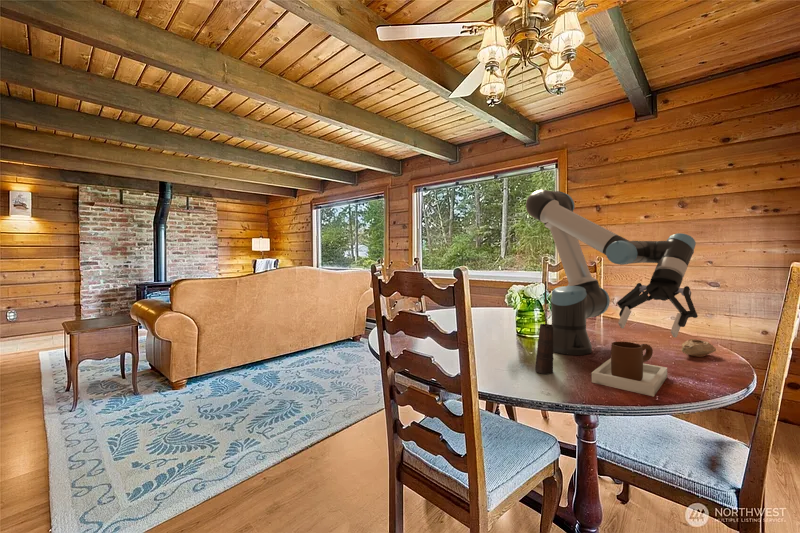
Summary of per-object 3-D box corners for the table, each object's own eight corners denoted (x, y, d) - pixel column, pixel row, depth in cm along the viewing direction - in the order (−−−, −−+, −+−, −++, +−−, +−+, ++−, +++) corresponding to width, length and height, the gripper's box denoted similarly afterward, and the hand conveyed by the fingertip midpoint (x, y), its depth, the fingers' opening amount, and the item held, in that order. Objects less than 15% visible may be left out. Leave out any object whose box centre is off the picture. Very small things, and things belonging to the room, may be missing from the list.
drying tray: (591, 382, 98) (591, 372, 98) (610, 366, 111) (610, 357, 111) (653, 396, 88) (653, 385, 88) (667, 377, 101) (667, 367, 101)
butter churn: (559, 380, 100) (559, 283, 99) (525, 374, 106) (524, 282, 104) (564, 370, 108) (563, 281, 107) (532, 366, 113) (531, 280, 112)
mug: (640, 370, 104) (640, 339, 103) (663, 379, 96) (663, 346, 96) (604, 374, 102) (604, 342, 101) (625, 383, 94) (625, 349, 94)
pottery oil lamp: (669, 354, 121) (667, 334, 123) (694, 362, 124) (691, 342, 126) (697, 351, 113) (694, 330, 116) (723, 360, 116) (719, 339, 119)
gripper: (723, 286, 100) (702, 346, 93) (628, 280, 121) (606, 329, 114) (717, 268, 97) (695, 330, 90) (621, 265, 118) (597, 315, 111)
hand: (645, 330), depth 102 cm, fingers open, 13 cm apart
